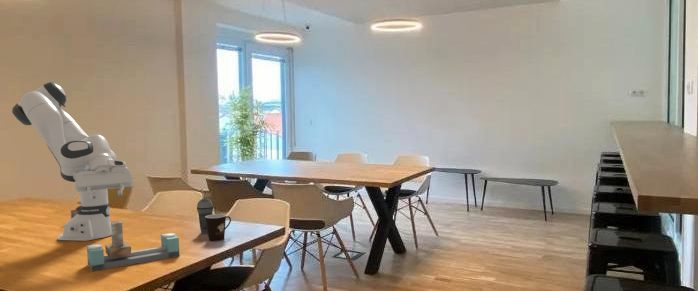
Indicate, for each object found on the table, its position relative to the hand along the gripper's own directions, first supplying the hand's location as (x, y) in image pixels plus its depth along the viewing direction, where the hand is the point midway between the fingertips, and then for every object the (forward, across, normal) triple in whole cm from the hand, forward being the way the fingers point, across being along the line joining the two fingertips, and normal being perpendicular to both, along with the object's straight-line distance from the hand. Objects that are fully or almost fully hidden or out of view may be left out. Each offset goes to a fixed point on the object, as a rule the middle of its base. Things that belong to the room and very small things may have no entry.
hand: (107, 196), depth 195 cm
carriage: (+23, +1, +5) cm, 23 cm away
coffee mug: (+17, +43, +16) cm, 49 cm away
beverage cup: (+6, +41, +27) cm, 50 cm away
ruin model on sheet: (-37, -2, +70) cm, 80 cm away
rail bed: (+25, +6, +8) cm, 27 cm away
